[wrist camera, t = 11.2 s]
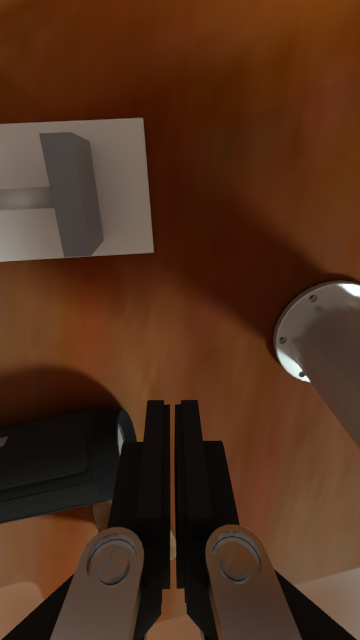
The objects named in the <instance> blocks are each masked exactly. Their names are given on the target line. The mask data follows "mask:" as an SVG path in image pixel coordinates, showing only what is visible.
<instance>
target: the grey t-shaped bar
mask: <svg viewBox="0 0 360 640" xmlns="http://www.w3.org/2000/svg"><path fill="white" fill-rule="evenodd" d="M39 136H40V141H41V146H42V151H43V156H44V161H45V166H46V171H47V175H48V180H49V185H50V187H31V188H11V189H0V211H3V210H22V209H41V208H54V210H55V215H56V220H57V225H58V230H59V235H60V240H61V245H62V250H63V254H64V257H80V256H91V255H92V254H93V253H94V252H95V251H96V249H97V248H98V247H99V246H100V245H101V243H102V242H103V241H104V237H103V230H102V224H101V217H100V210H99V203H98V196H97V189H96V182H95V175H94V168H93V162H92V155H91V148H90V141H89V140H86V139H84V138H82V137H80V136H78V135H76V134H74V133H72V132H60V133H39Z"/></svg>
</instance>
